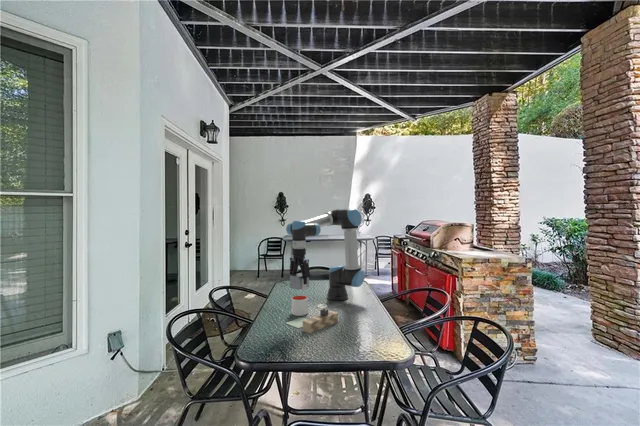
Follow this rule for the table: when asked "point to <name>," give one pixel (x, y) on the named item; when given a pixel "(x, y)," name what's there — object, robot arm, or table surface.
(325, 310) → the latch
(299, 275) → the gray cube on plate
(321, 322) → the long wooden block
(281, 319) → the table surface
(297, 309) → the cup
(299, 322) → the mat
